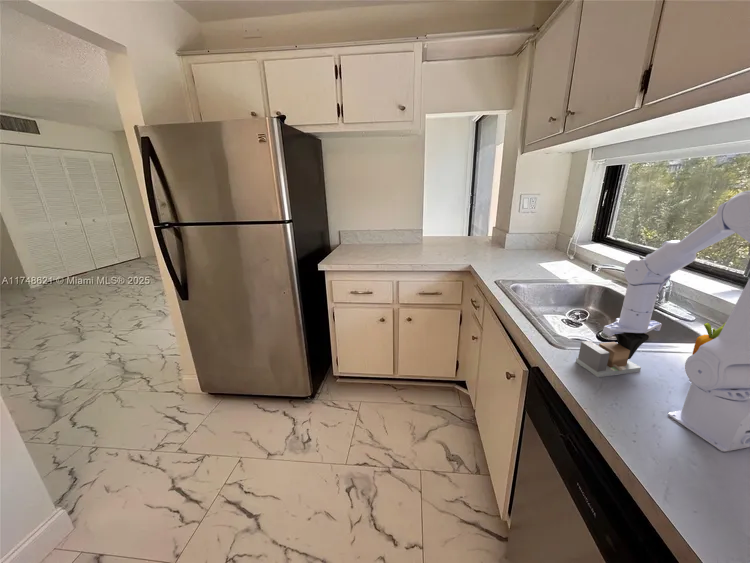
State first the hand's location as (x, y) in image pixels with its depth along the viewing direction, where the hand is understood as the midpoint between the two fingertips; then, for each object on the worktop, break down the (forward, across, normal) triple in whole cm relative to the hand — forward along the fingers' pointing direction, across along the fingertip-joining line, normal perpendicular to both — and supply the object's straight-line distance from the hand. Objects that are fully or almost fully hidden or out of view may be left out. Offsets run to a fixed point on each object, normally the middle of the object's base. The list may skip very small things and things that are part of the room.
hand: (624, 357), depth 80 cm
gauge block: (+1, +4, +1) cm, 5 cm away
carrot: (+2, -11, +9) cm, 15 cm away
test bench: (+2, +5, 0) cm, 5 cm away
